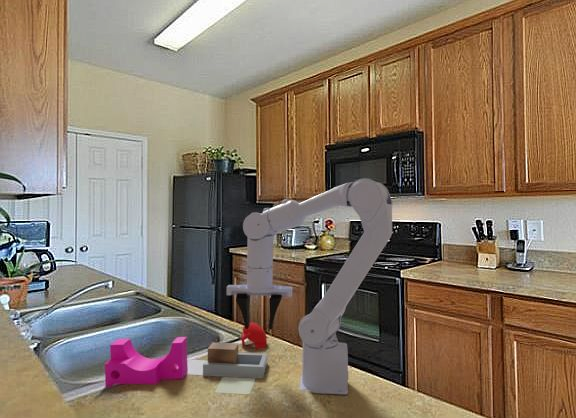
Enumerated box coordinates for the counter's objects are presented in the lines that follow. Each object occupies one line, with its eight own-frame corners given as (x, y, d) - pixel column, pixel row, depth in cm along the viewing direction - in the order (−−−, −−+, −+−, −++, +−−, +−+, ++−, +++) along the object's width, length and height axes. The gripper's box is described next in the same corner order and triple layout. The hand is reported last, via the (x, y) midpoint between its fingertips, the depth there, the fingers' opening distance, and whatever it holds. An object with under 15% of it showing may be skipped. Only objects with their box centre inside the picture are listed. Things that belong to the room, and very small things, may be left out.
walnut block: (238, 365, 88) (238, 343, 88) (234, 372, 84) (234, 349, 84) (212, 364, 88) (212, 342, 88) (207, 371, 84) (207, 348, 84)
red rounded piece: (232, 333, 102) (242, 326, 98) (248, 321, 107) (258, 314, 102) (249, 359, 101) (260, 353, 97) (265, 346, 105) (275, 340, 101)
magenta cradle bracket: (105, 386, 78) (104, 349, 78) (119, 373, 84) (118, 338, 84) (179, 384, 78) (178, 347, 78) (187, 371, 84) (186, 336, 84)
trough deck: (267, 365, 90) (267, 353, 90) (262, 380, 82) (262, 367, 82) (187, 362, 91) (187, 350, 91) (175, 376, 83) (175, 363, 83)
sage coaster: (255, 381, 81) (255, 378, 81) (249, 397, 74) (249, 394, 74) (222, 379, 82) (222, 377, 82) (214, 395, 75) (214, 392, 75)
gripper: (293, 265, 89) (292, 323, 89) (231, 263, 90) (230, 321, 90) (291, 269, 82) (290, 333, 82) (224, 268, 83) (223, 331, 83)
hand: (259, 327), depth 86 cm, fingers open, 5 cm apart
